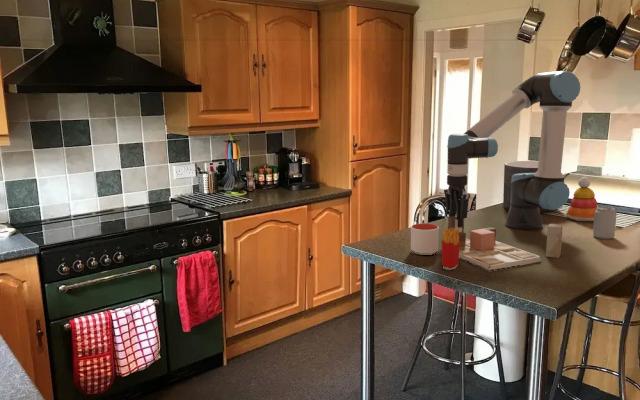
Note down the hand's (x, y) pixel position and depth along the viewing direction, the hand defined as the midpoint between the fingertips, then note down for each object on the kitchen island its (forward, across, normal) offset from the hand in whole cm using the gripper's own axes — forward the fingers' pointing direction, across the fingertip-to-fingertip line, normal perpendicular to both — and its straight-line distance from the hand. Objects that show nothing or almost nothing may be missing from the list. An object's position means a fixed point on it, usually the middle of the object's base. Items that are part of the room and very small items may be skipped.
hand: (455, 234), depth 202 cm
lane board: (+4, +20, 0) cm, 21 cm away
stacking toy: (+4, -4, +73) cm, 73 cm away
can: (+4, +21, +55) cm, 59 cm away
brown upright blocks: (+2, +10, 0) cm, 10 cm away
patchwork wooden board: (+3, +20, 0) cm, 20 cm away
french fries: (+4, +23, -20) cm, 30 cm away
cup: (+4, +5, -18) cm, 19 cm away
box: (+4, +29, +20) cm, 36 cm away
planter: (+4, -33, +70) cm, 77 cm away
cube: (+1, +15, 0) cm, 15 cm away
